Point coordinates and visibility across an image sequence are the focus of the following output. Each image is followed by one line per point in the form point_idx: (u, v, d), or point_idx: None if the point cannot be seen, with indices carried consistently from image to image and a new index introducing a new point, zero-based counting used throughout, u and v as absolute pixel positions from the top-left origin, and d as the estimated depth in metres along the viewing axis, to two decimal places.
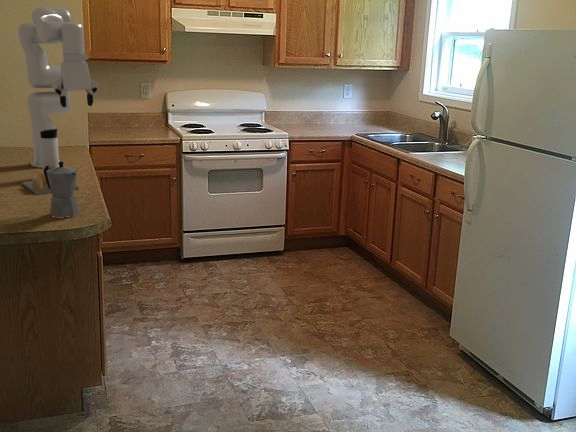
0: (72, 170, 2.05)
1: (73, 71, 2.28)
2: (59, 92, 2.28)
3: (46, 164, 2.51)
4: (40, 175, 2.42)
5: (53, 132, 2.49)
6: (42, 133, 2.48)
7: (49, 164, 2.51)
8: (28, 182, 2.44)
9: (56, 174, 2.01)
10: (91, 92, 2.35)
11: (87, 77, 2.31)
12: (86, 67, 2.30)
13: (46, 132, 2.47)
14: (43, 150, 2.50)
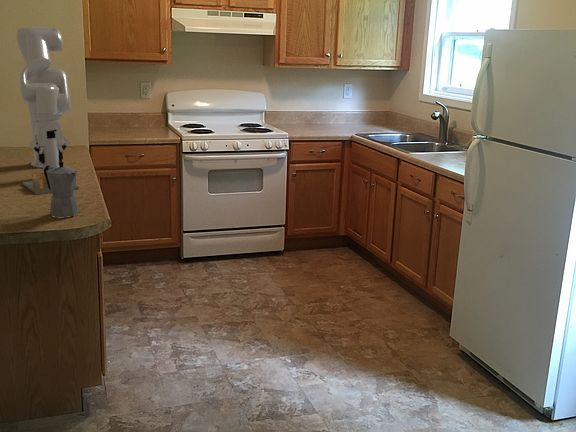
0: (72, 170, 2.05)
1: (47, 129, 2.47)
2: (37, 150, 2.49)
3: (46, 164, 2.51)
4: (40, 175, 2.42)
5: (53, 132, 2.49)
6: None
7: (49, 164, 2.51)
8: (28, 182, 2.44)
9: (56, 174, 2.01)
10: (61, 149, 2.54)
11: (60, 134, 2.51)
12: (59, 125, 2.50)
13: (46, 132, 2.47)
14: (43, 150, 2.50)
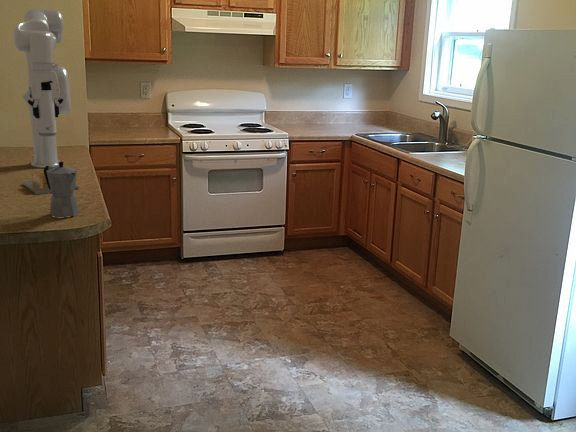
0: (72, 170, 2.05)
1: (41, 80, 2.26)
2: (31, 103, 2.28)
3: (41, 119, 2.30)
4: (40, 175, 2.42)
5: (49, 83, 2.28)
6: None
7: (44, 119, 2.30)
8: (28, 182, 2.44)
9: (56, 174, 2.01)
10: (57, 103, 2.33)
11: (56, 86, 2.30)
12: (55, 76, 2.29)
13: (41, 83, 2.27)
14: (38, 103, 2.29)
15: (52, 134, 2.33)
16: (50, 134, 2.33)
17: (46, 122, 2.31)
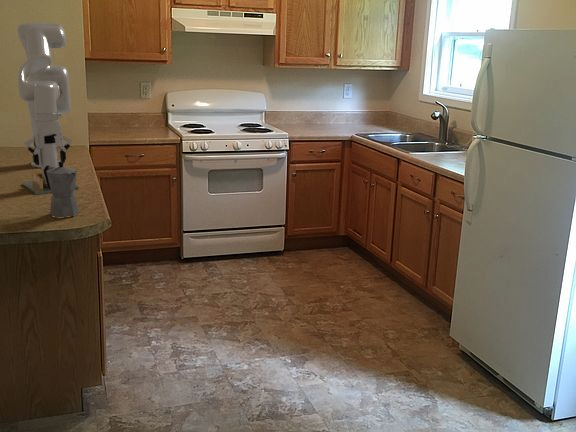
0: (72, 170, 2.05)
1: (45, 130, 2.32)
2: (32, 150, 2.32)
3: None
4: (40, 175, 2.42)
5: (52, 137, 2.34)
6: None
7: None
8: (28, 182, 2.44)
9: (56, 174, 2.01)
10: (64, 149, 2.39)
11: (59, 135, 2.36)
12: (58, 125, 2.34)
13: (45, 137, 2.32)
14: (42, 156, 2.35)
15: None
16: None
17: None
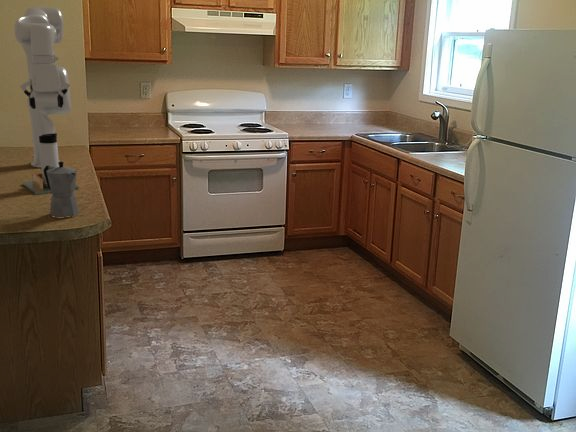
0: (72, 170, 2.05)
1: (42, 73, 2.27)
2: (28, 94, 2.27)
3: None
4: (40, 175, 2.42)
5: (53, 137, 2.34)
6: (41, 138, 2.33)
7: None
8: (28, 182, 2.44)
9: (56, 174, 2.01)
10: (61, 93, 2.34)
11: (57, 79, 2.31)
12: (55, 68, 2.29)
13: (45, 137, 2.33)
14: (42, 156, 2.35)
15: None
16: None
17: None
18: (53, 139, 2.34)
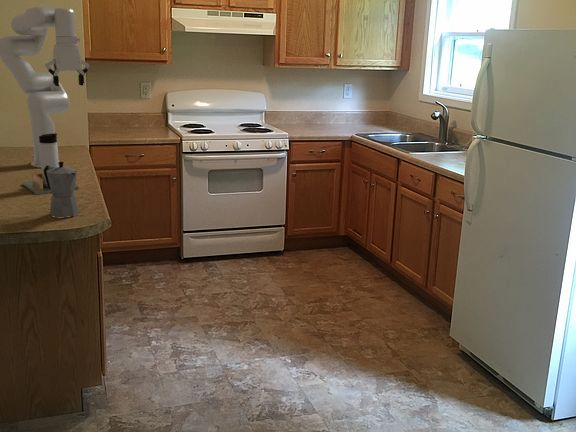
0: (72, 170, 2.05)
1: (65, 53, 2.46)
2: (52, 72, 2.47)
3: None
4: (40, 175, 2.42)
5: (53, 137, 2.34)
6: (41, 138, 2.33)
7: None
8: (28, 182, 2.44)
9: (56, 174, 2.01)
10: (82, 72, 2.53)
11: (78, 58, 2.50)
12: (77, 49, 2.49)
13: (45, 137, 2.33)
14: (42, 156, 2.35)
15: None
16: None
17: None
18: (53, 139, 2.34)
